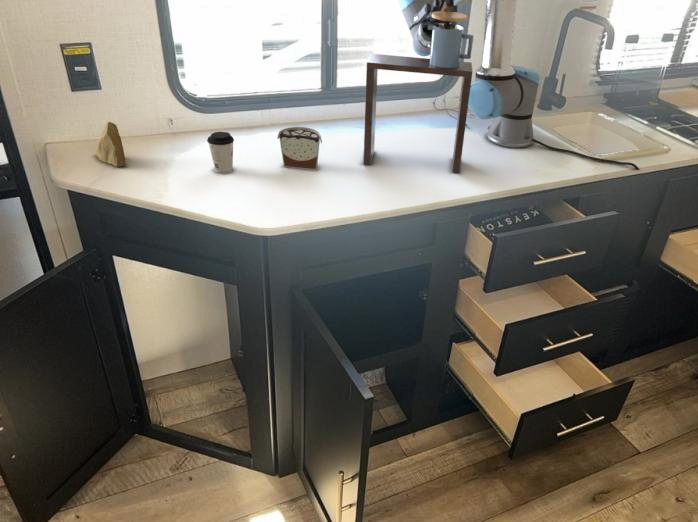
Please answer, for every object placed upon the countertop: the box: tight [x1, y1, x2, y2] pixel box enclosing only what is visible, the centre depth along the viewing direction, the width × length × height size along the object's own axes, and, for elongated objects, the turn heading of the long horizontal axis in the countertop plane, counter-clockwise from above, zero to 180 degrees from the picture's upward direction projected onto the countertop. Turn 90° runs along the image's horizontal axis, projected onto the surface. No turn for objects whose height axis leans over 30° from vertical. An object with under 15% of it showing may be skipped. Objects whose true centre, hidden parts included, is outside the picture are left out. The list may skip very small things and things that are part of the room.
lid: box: [432, 2, 468, 23], centre depth 159 cm, size 9×19×2 cm, turn 6°
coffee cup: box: [206, 131, 235, 175], centre depth 162 cm, size 7×7×10 cm
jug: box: [428, 23, 474, 68], centre depth 160 cm, size 12×8×10 cm, turn 86°
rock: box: [95, 121, 126, 168], centre depth 163 cm, size 11×9×10 cm
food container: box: [276, 126, 323, 171], centre depth 169 cm, size 12×6×10 cm, turn 84°
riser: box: [363, 53, 473, 174], centre depth 171 cm, size 28×10×28 cm, turn 86°
